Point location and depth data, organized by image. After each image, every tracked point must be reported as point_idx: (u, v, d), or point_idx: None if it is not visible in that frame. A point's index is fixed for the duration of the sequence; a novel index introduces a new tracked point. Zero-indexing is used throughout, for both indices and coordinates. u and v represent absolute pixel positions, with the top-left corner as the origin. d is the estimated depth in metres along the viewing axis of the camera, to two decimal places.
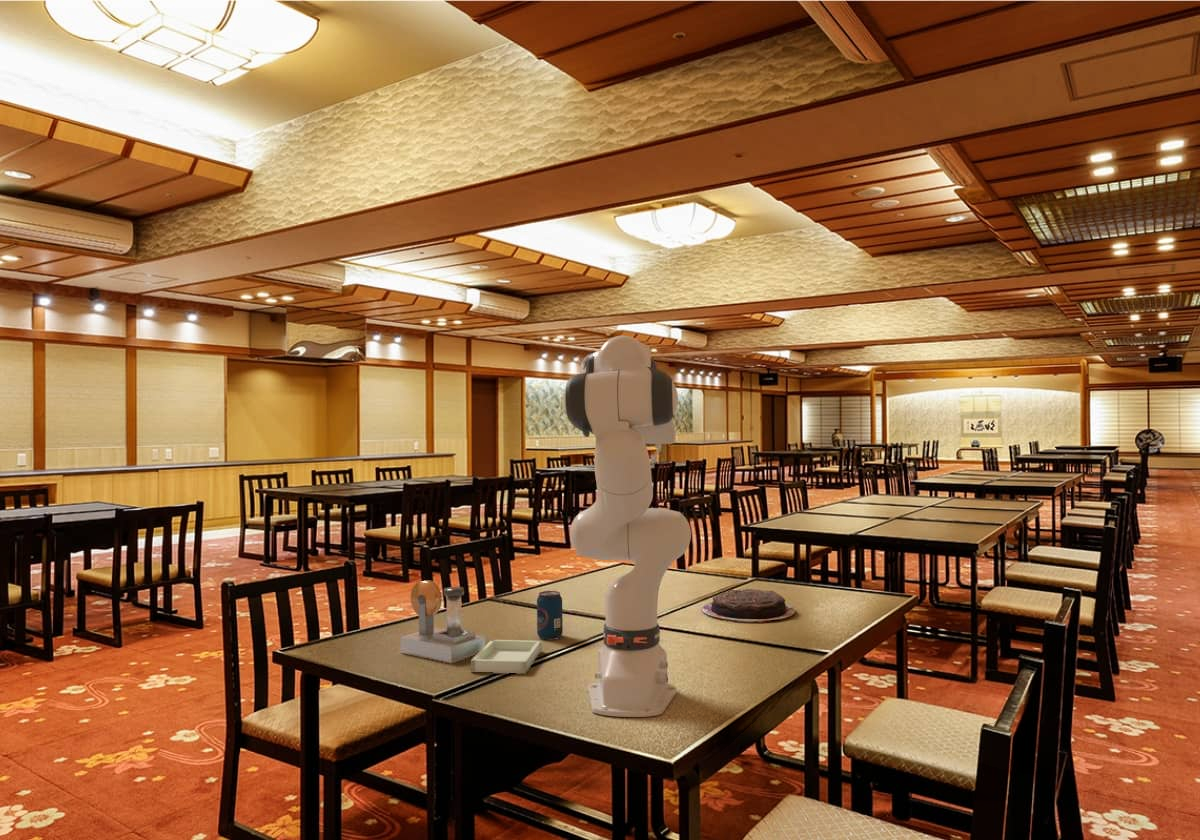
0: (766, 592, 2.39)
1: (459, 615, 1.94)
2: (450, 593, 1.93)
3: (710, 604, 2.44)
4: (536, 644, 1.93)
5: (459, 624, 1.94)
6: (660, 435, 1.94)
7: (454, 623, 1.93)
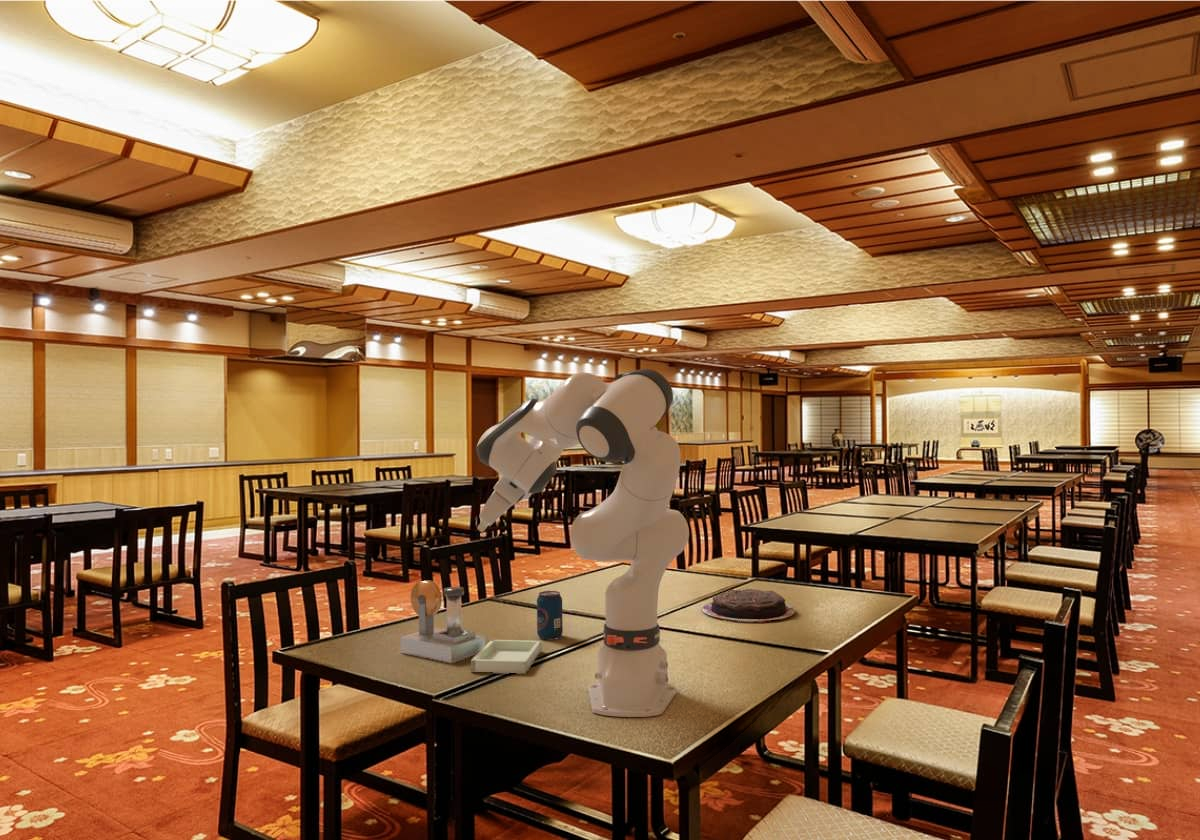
0: (766, 592, 2.39)
1: (459, 615, 1.94)
2: (450, 593, 1.93)
3: (710, 604, 2.44)
4: (536, 644, 1.93)
5: (459, 624, 1.94)
6: None
7: (454, 623, 1.93)
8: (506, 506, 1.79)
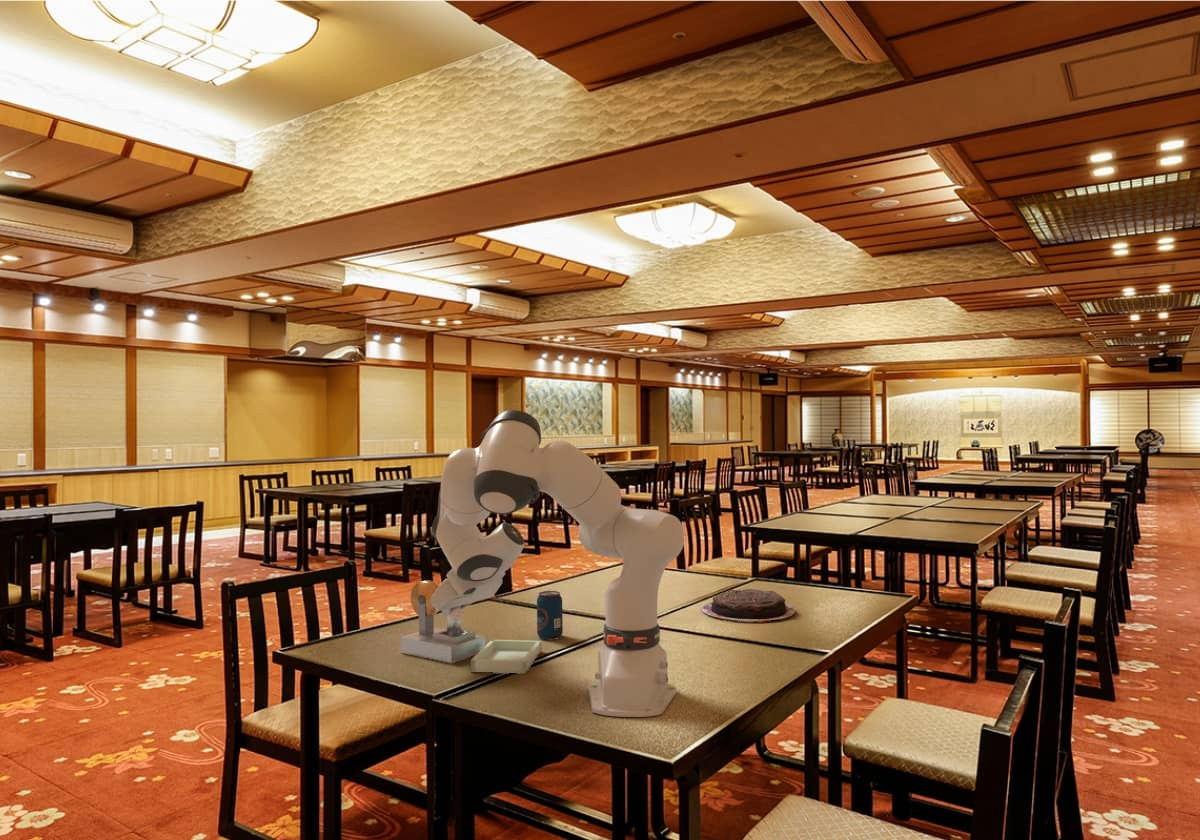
0: (766, 592, 2.39)
1: (459, 615, 1.94)
2: None
3: (710, 604, 2.44)
4: (536, 644, 1.93)
5: (459, 624, 1.94)
6: None
7: (454, 623, 1.93)
8: (452, 595, 1.83)
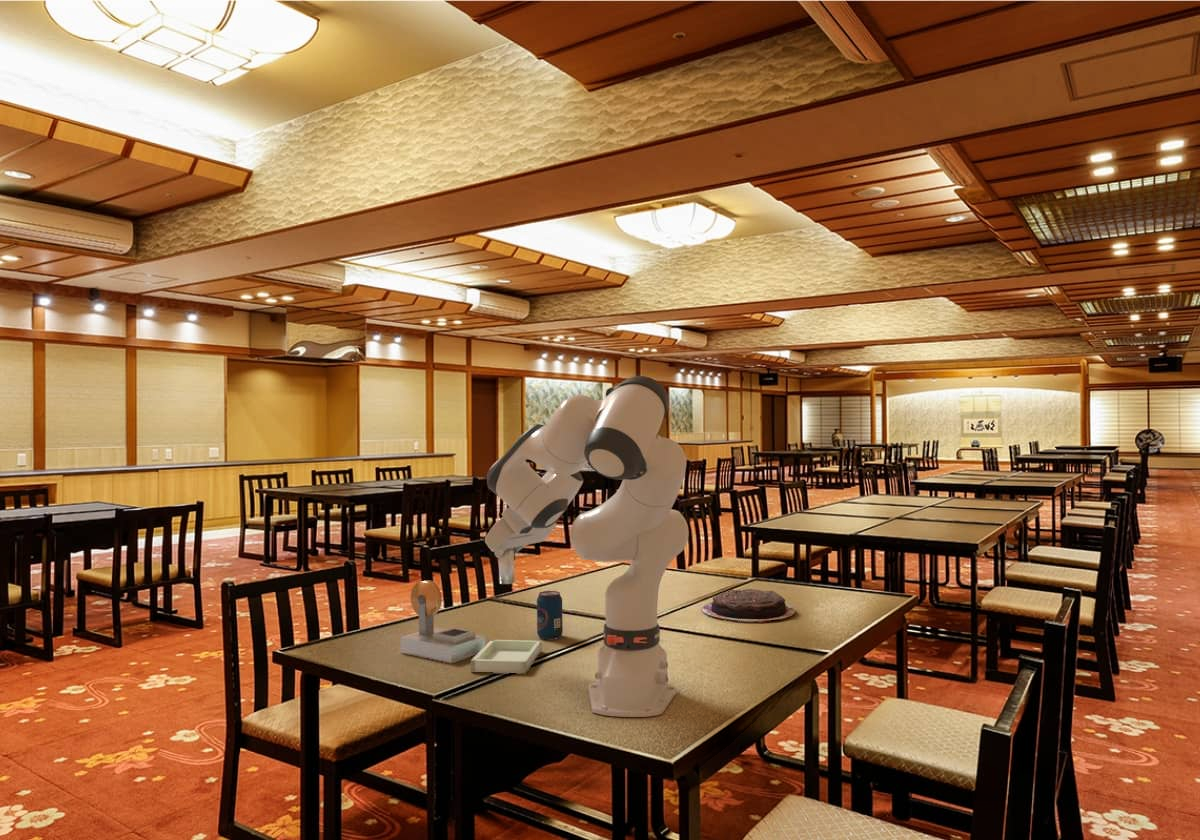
0: (766, 592, 2.39)
1: (512, 558, 1.88)
2: None
3: (710, 604, 2.44)
4: (536, 644, 1.93)
5: (512, 567, 1.88)
6: None
7: (507, 566, 1.87)
8: (508, 534, 1.76)
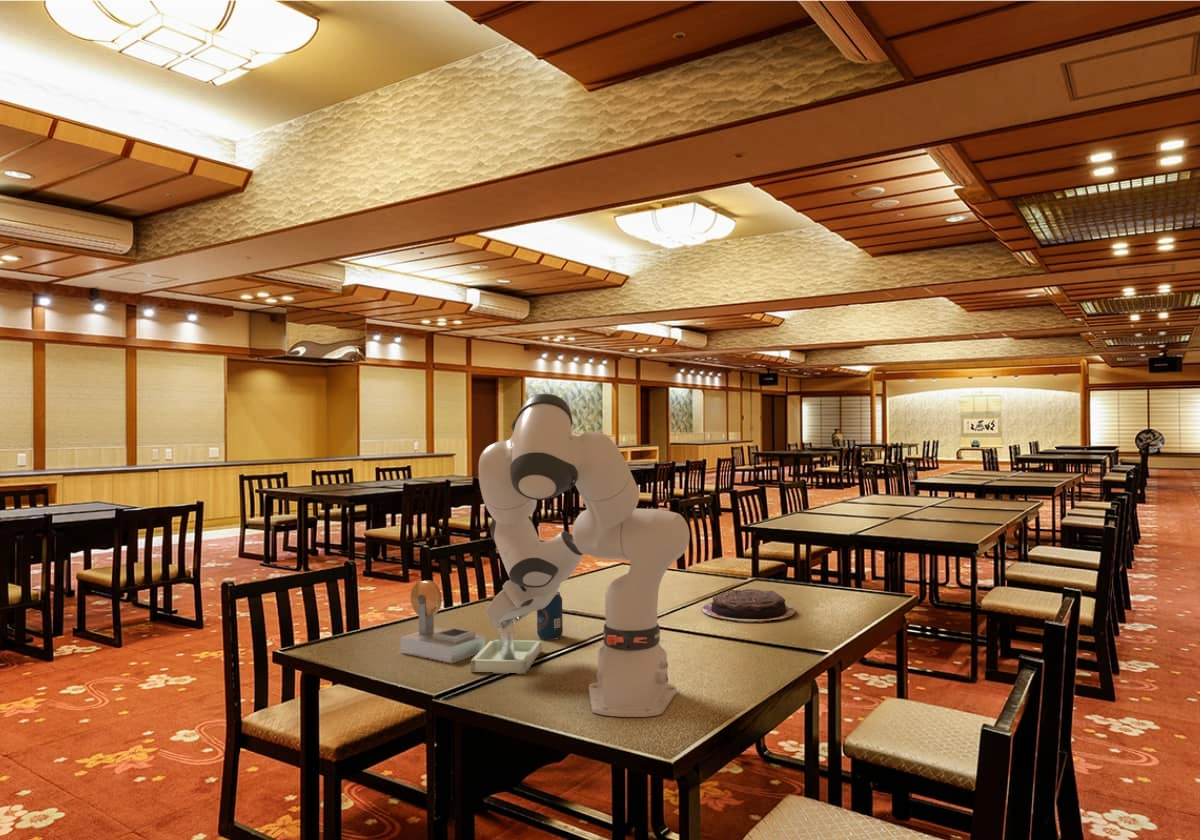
0: (766, 592, 2.39)
1: (512, 635, 1.87)
2: None
3: (710, 604, 2.44)
4: (536, 644, 1.93)
5: (512, 644, 1.87)
6: None
7: (507, 643, 1.86)
8: (509, 607, 1.76)
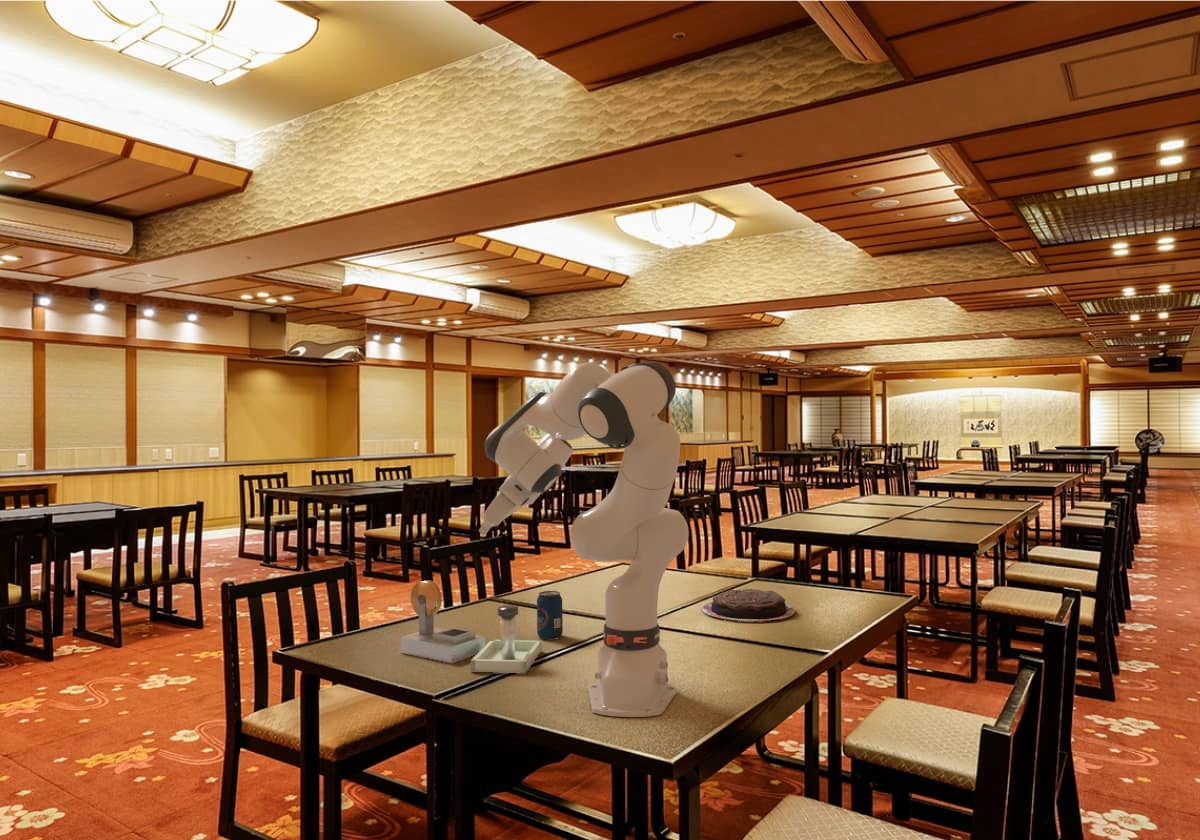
0: (766, 592, 2.39)
1: (513, 635, 1.87)
2: (505, 612, 1.86)
3: (710, 604, 2.44)
4: (536, 644, 1.93)
5: (513, 644, 1.87)
6: None
7: (508, 643, 1.86)
8: (511, 507, 1.81)
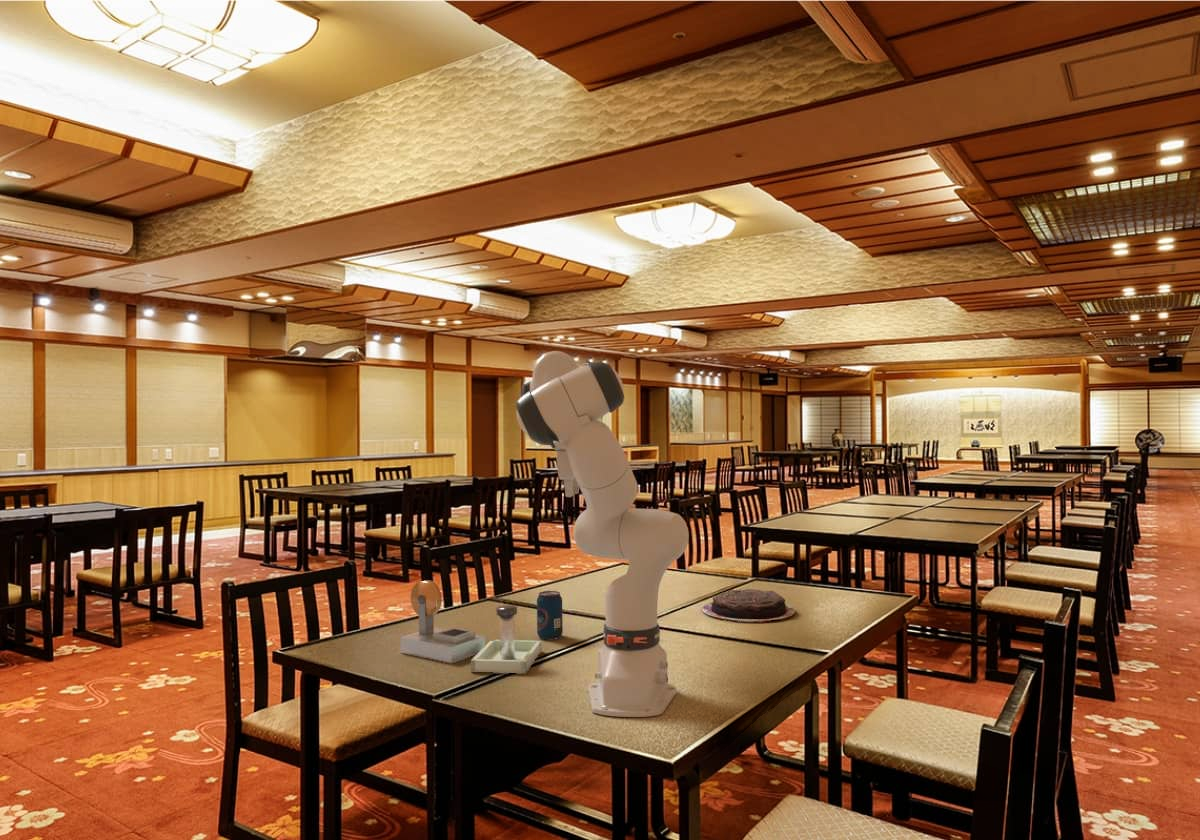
0: (766, 592, 2.39)
1: (513, 635, 1.87)
2: (503, 612, 1.86)
3: (710, 604, 2.44)
4: (536, 644, 1.93)
5: (513, 644, 1.87)
6: None
7: (508, 643, 1.86)
8: None
